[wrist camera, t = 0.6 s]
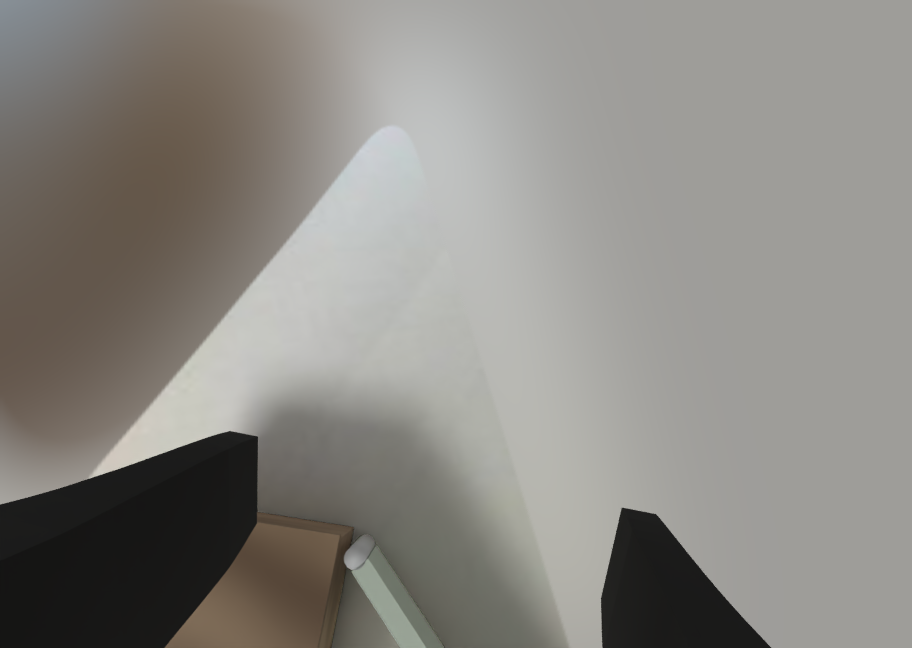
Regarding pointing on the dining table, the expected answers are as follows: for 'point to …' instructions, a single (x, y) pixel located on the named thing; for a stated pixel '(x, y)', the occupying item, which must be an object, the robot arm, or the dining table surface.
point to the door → (389, 595)
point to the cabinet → (275, 589)
